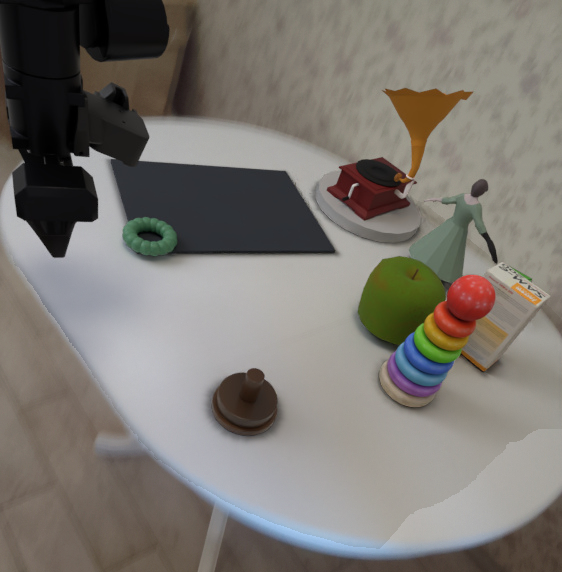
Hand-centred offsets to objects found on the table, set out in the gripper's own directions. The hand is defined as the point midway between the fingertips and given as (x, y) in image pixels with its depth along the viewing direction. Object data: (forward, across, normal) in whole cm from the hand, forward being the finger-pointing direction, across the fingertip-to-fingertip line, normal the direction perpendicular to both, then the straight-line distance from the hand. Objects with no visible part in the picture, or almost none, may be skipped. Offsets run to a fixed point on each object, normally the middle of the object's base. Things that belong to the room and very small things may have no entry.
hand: (54, 228), depth 52 cm
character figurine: (+12, +4, -59) cm, 60 cm away
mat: (+12, +23, -27) cm, 37 cm away
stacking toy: (+12, -17, -41) cm, 46 cm away
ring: (+12, +13, -13) cm, 22 cm away
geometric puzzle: (+12, -3, -69) cm, 70 cm away
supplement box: (+12, -12, -56) cm, 59 cm away
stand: (+12, -17, -18) cm, 28 cm away
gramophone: (+12, +24, -56) cm, 62 cm away
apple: (+12, -6, -44) cm, 46 cm away
